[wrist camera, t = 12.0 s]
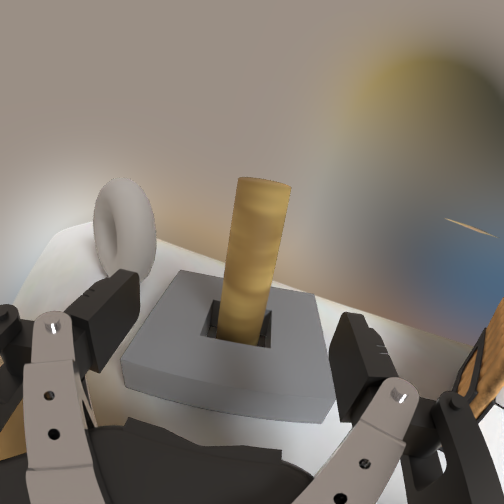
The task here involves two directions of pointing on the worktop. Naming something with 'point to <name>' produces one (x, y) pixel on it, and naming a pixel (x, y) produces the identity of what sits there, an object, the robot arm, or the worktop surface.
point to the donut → (124, 228)
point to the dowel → (251, 258)
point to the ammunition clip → (484, 368)
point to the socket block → (232, 355)
